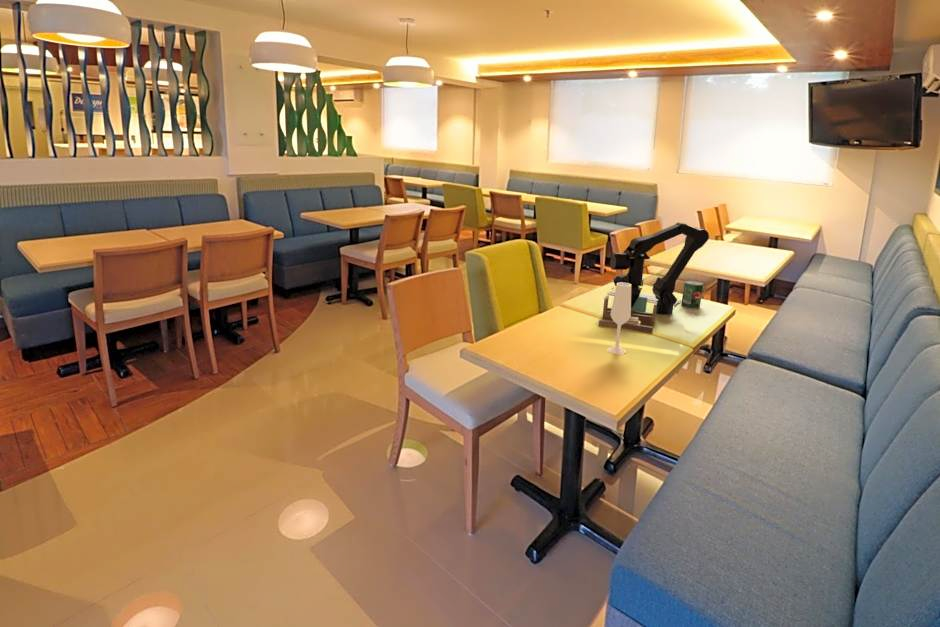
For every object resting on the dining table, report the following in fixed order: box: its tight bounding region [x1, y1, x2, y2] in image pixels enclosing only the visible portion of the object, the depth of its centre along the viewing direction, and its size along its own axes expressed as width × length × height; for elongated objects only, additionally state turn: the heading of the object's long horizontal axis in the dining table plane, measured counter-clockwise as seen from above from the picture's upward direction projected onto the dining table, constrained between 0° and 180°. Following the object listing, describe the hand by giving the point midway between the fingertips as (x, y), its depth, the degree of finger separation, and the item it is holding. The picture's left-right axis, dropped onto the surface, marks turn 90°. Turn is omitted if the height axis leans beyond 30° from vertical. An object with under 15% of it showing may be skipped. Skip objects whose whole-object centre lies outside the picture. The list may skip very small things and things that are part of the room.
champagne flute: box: [607, 282, 631, 355], centre depth 184 cm, size 7×7×24 cm
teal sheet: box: [631, 296, 648, 312], centre depth 225 cm, size 2×12×9 cm, turn 68°
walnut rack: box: [598, 295, 657, 334], centre depth 213 cm, size 18×20×9 cm
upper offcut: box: [626, 317, 639, 325], centre depth 210 cm, size 5×8×1 cm, turn 76°
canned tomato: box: [680, 280, 704, 310], centre depth 240 cm, size 8×8×11 cm
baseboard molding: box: [606, 287, 682, 308], centre depth 252 cm, size 31×3×12 cm
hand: (631, 306), depth 225 cm, fingers open, 3 cm apart
